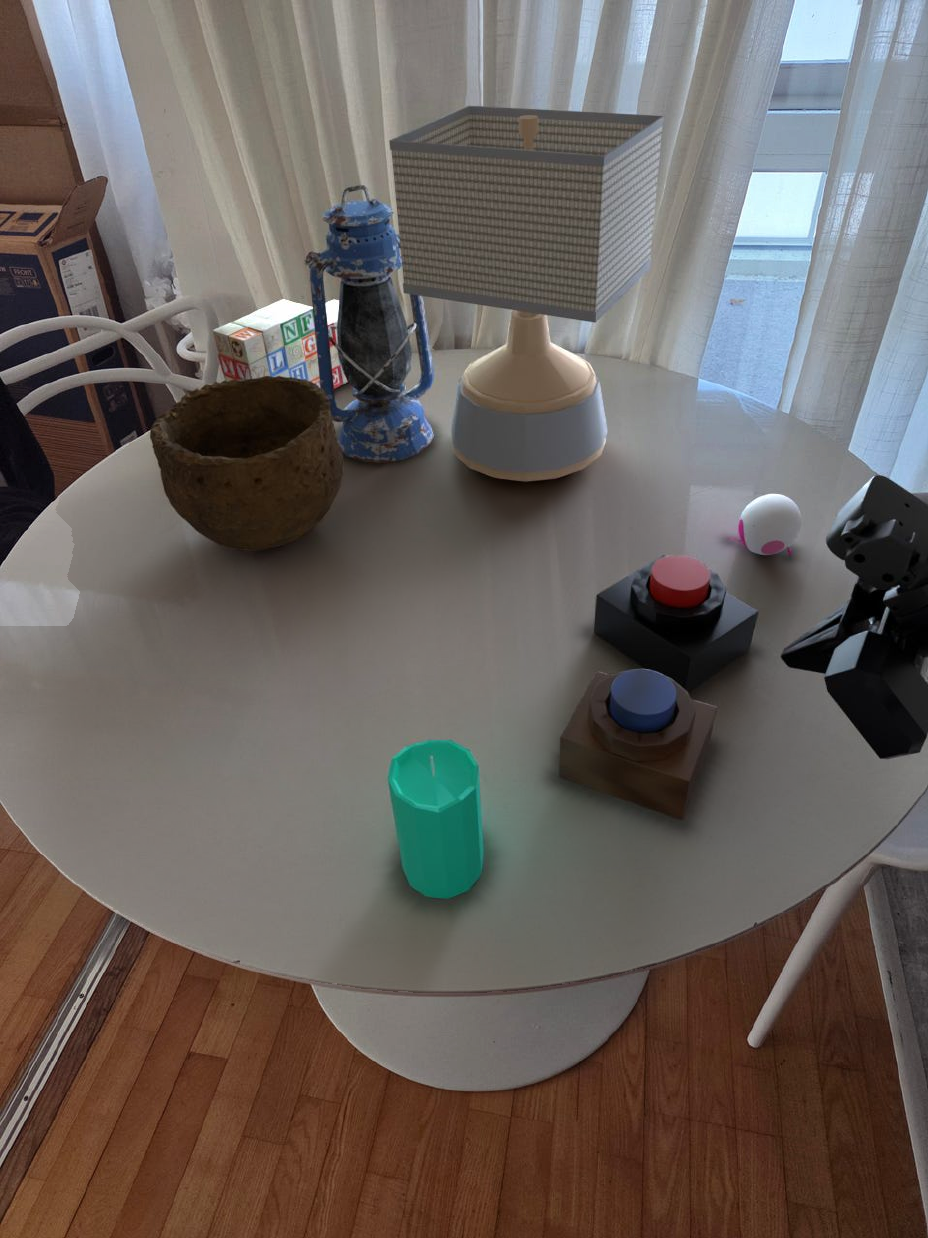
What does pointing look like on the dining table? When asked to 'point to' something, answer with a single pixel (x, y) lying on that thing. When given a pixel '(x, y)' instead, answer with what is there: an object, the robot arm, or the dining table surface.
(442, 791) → the candle
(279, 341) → the stack of blocks
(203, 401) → the bowl
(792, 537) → the stress ball
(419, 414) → the lantern
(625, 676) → the blue button
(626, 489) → the dining table surface
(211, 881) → the dining table surface
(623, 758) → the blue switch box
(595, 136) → the desk lamp
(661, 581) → the light button
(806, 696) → the dining table surface
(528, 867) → the dining table surface
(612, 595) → the switch box
